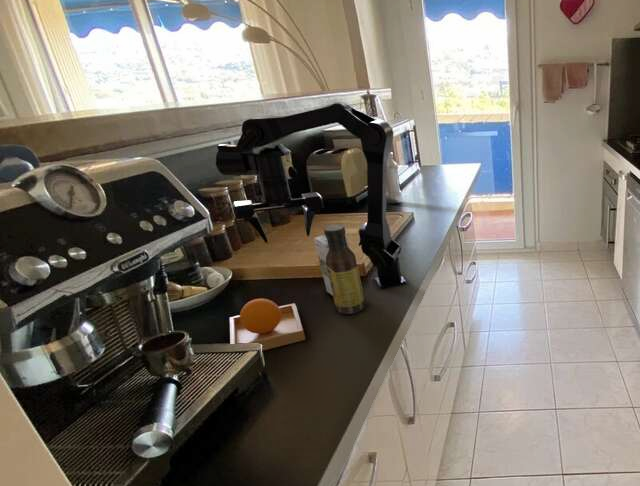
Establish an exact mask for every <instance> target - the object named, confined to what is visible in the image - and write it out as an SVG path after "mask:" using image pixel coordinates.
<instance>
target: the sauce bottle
mask: <svg viewBox="0 0 640 486" xmlns="http://www.w3.org/2000/svg"><path fill="white" fill-rule="evenodd" d="M323 233H324V235H326V237H327V241H328V247H329V251H328V253H327V255H326V266H327V271H328V275H329V279H330V284H331V288H332V292H333V296H332V297H333V301H334V304H335V307H336V310H337V312H338V313H340V314H343V315H353V314H358V313H360V312H361V311H363V309H365V297H364V296H365V295H364V291H363V286H362V281H361V277H360V270H359V266H358V263H357V258H356V254H355V253H354V251H353V250H352V249H351V248H350V247H349V248H348V246H347V242H346V238H347V237H346V228H345V226H344V225H343V224H331V225H327V226H324V228H323Z"/></svg>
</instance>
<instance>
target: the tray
mask: <svg viewBox="0 0 640 486" xmlns="http://www.w3.org/2000/svg"><path fill="white" fill-rule="evenodd" d="M278 307H279V309H280V311H281V320H280V323H279V324H278V326H277V327H276V328H275V329H274V330H272V331H270V332H268V333H264V334H256V333H252V332H250V331H248V330H246V329H245V328H244V327H243V325H242V324H241V321H240V314H239V315H235V316H230V317H229V344H235V343H261V344H262V345H263V351H267V350H271V349H274V348H279V347H284V346H287V345H291V344H294V343H298V342H301V341H305V340H306V335H305V332H304V328H303V323H301V322H302V321H301V318H300V315H299V311H298V308H297V305H296V303H294V302H293V303H289V304H284V305H280V306H278Z"/></svg>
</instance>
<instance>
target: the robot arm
mask: <svg viewBox="0 0 640 486" xmlns="http://www.w3.org/2000/svg"><path fill="white" fill-rule="evenodd" d="M333 124H339V125H340V126H342V128H344V129H345V130H346V131H348V132H349V133H350V134H351V135H353V136H354V137H356V138H358V139H359V140H360V144H361V149H362V153H363V156H364V158H365V160H366V185H367V186H366V188H367V189H366V191H367V192H366V193H367V194H366V196H367V197H366V198H367V200H366V201H367V204H366V205H367V209H366V210H367V211H366V212H367V221H366V222H365V223H364V224H363V225H362V226H361V227H360V228H359V229H358V236H359V243H358V246H359V247H360V246H361V252H362V253H363V254H364V255H365V256H366V257H367V258H369V261H370V263H371V264H372V266H373V267H376V273H377V277H374V281H375V282H376V283H377V285H378V286H379V288H380V289H386V288H390V287H395V286H399V285H403V284H406V283H407V280H406V279H405V278H404V276H402V271H401V264H400V263H401V262H400V258H399V255H400V254H401V251H402V246H401V244H399V243H398V242H396V240H394V239H393V238H392V233H391V229H390V225H389V223H388V220H387V201H386V180H387V160H388V156H389V153H391V150H392V145H393V139H394V130H393V127H392V126H391V125H390V123H388V122H387V121H385V120H384V119H383V120H382V119H376V118H374V117H373V116H371V115H369V114H366V113H364V112H362V111H360V110H359V109H356V108H354V107H353V106H351V105H350V104H348V103H347V102H342V101H341V102H335V103H332V104H331V105H328V106H325V107H320V108H316V109H312V110H306V111H303V112H298V113H295V114H294V113H293V114H290V115H269V116H268V115H266V116H258V117H254V118H249V119H246V120H244V121H243V122H242V125H241V135H240V137H239V139H238V141H237V143H236V144H229V143H221V144H218V145H217V146H216V148H217V152H216V155H215V166H216V168H217V170H218V172H219V173H220V174H221V175H222V176H253V175H254V174H255V172H256V173H257V177H258V181H259V182H258V181H257V182H252V183H251V185H252V188H253V189H252V190H253V192H254V193H253V194H254V195H255V197H256V198H259V197H262V200H263V202H257V203H253V202H252V199H245V200H237V201H233V202H232V204H231V206H232V211H233V215H234V218H235V219H236V220H241V219H242V221H243V222H244V223H246V222H248V223H249V224H250V225H251V226H252V227H253V228H254V229H255V230H256V231H257V233H258V235H259V236H260V237H261V238H262V240H263V241H264V242H265V244H268V239H267V236H266V232H265V231H264V228H263V226H262V224H261V220H260V219H259V216H258V215H257V213H258V212H265V211H273V210H280V209H290V208H298V207H302V211H303V217H304V228H305V230H304V231H305V233H306V237H310V234H311V233H310V232H311V228H312V224H313V220H314V217H315V215H316V213H319V212H320V209H323V208H325V203H324V199H323V197H322V196H321V194H320V193H318V192H316V191H315V192H314V191H313V192H307V193H301V197H299V198H292V193H291V191H290V186H289V181H288V177H287V172H286V167H285V164H284V159H283V157H285V156H286V157H287V156H288V155H291V154H292V151H291V150H290V149H288V148H287V147H285V146H284V145H283V144H282V143H278V144H276V145H274V147H270V146H269V147H267V145H270V144H273V143H277V142H279V141H281V140H283V139H285V138H287V137H289V136H290V135H293V134H295V133H299V132H304V131H308V130H312V129H317V128H321V127H325V126H330V125H333ZM264 146H266V147H264ZM258 148H259V149H260V150H259V151H255V149H258Z"/></svg>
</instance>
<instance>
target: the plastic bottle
mask: <svg viewBox="0 0 640 486" xmlns="http://www.w3.org/2000/svg"><path fill="white" fill-rule="evenodd" d="M402 200H403V195H402V191H401V187H400V183H399V166H398V163H397V162H396V161H395V159H394V153H393V152H390V153H389V156H388V160H387V180H386V203H388V204H399V203H401V202H402Z"/></svg>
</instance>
